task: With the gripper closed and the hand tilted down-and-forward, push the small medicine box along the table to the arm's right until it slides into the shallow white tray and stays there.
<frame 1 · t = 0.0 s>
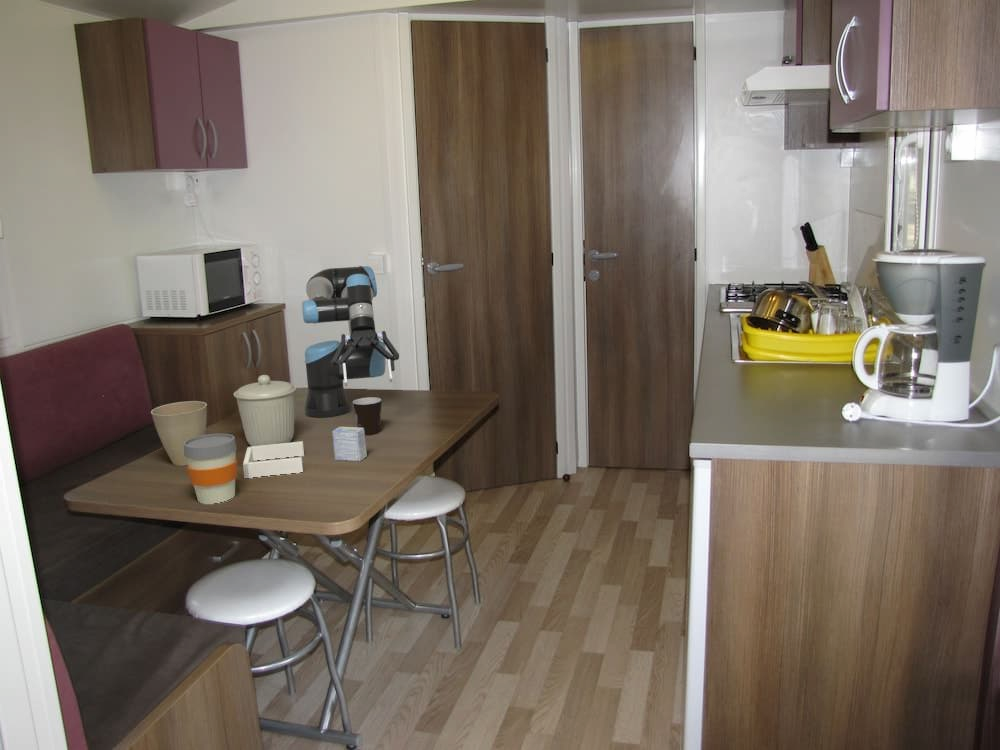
hand: (368, 382, 277), 15 cm above the table, tool tilted 35°, fingers open, 13 cm apart
medicine box: (351, 459, 254), on the table
plant pot: (186, 462, 258), on the table
reusable coffee cup: (216, 498, 228), on the table
coffee mug: (371, 431, 280), on the table
canister: (271, 444, 272), on the table
shallow white tray: (277, 466, 250), on the table
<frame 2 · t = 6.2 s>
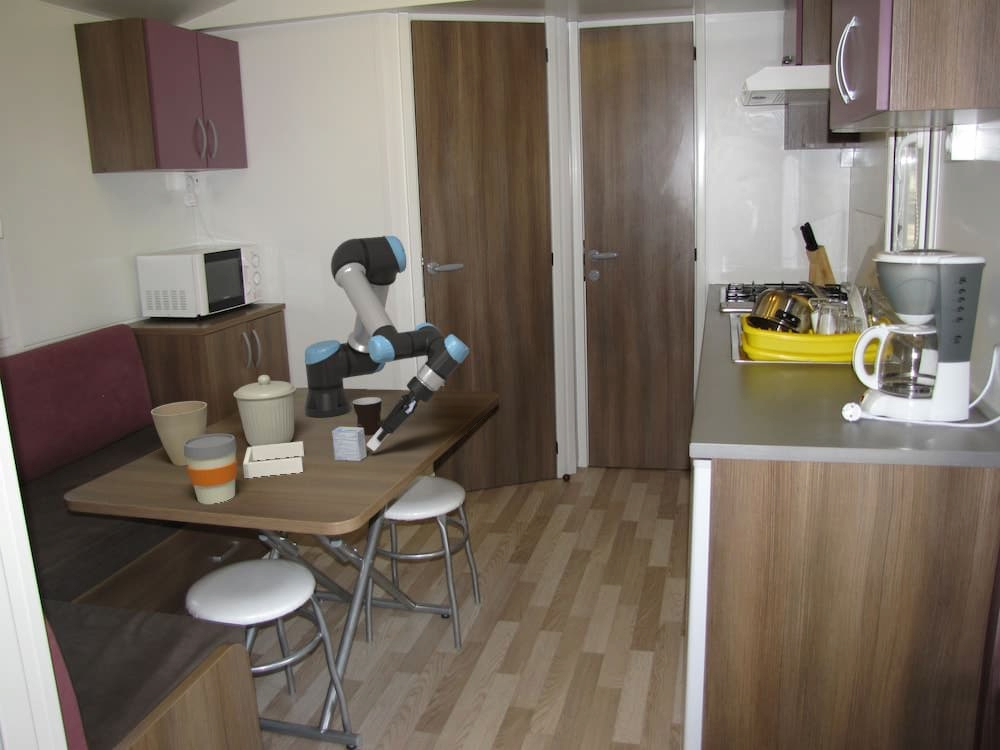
hand: (370, 447, 253), 3 cm above the table, tool tilted 45°, fingers closed
medicine box: (350, 459, 254), on the table, touching gripper
everything else where it was.
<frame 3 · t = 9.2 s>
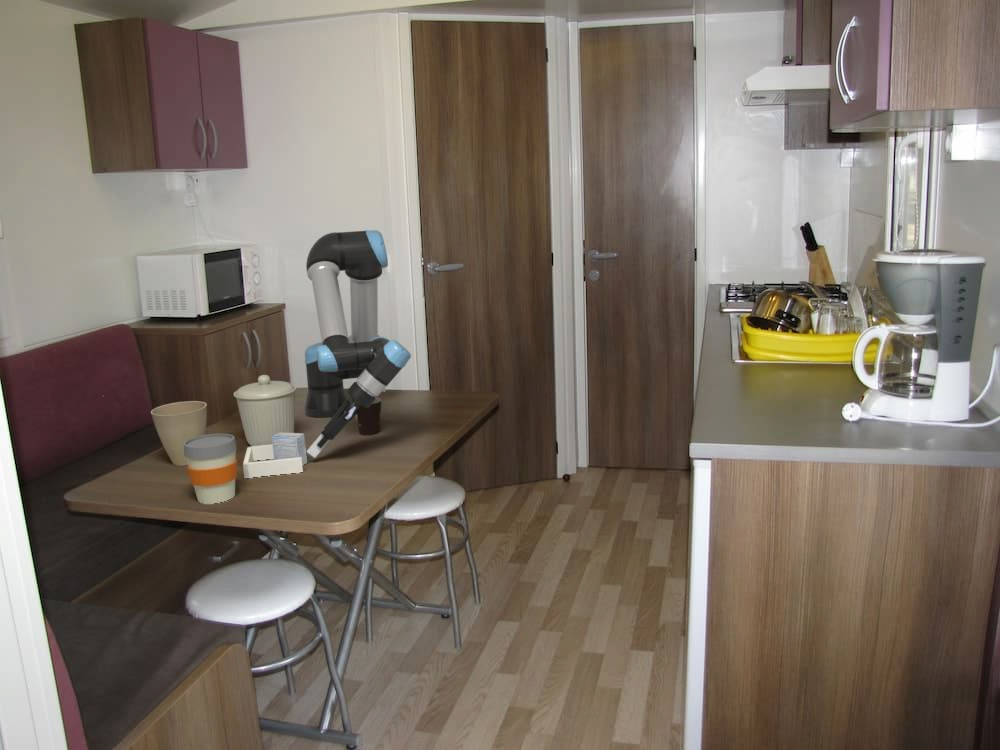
hand: (310, 454, 250), 3 cm above the table, tool tilted 45°, fingers closed
medicine box: (291, 465, 251), resting in shallow white tray, touching gripper
everything else where it was.
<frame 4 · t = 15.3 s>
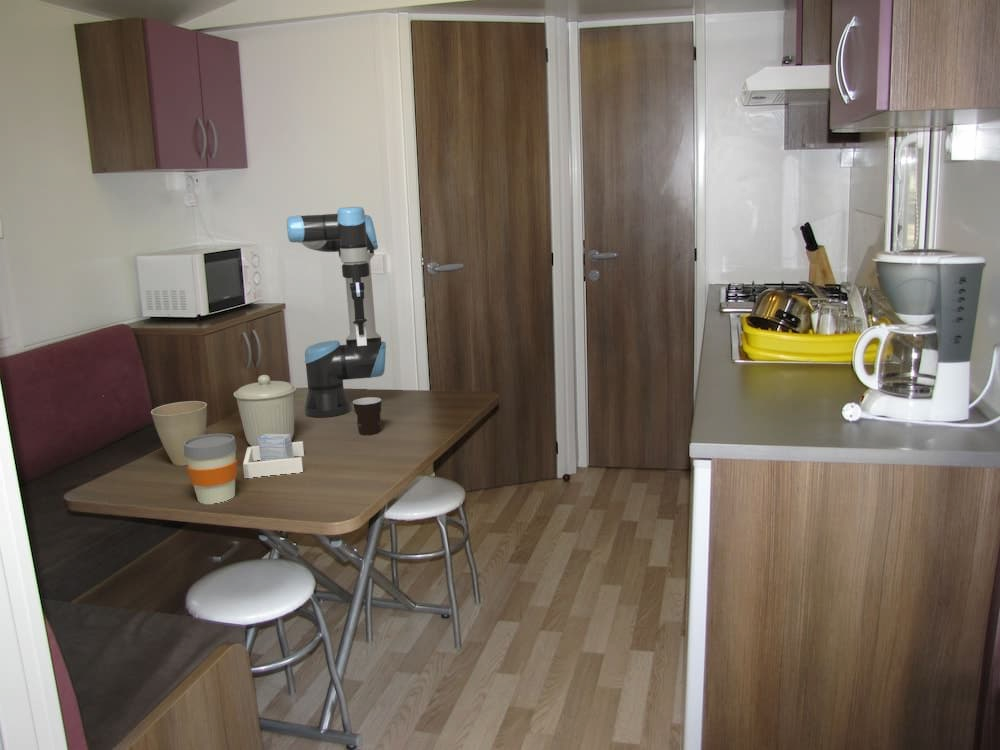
hand: (362, 345, 261), 29 cm above the table, tool pointing down, fingers closed
medicine box: (278, 466, 251), resting in shallow white tray
everything else where it was.
at the end: medicine box inside the target area on the shallow white tray (0.6 cm from its centre), point 0.0 cm above the shallow white tray's base; medicine box moved 20.0 cm from its start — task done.
